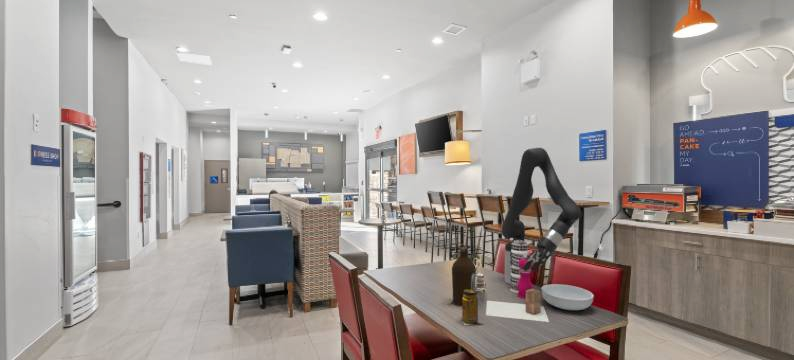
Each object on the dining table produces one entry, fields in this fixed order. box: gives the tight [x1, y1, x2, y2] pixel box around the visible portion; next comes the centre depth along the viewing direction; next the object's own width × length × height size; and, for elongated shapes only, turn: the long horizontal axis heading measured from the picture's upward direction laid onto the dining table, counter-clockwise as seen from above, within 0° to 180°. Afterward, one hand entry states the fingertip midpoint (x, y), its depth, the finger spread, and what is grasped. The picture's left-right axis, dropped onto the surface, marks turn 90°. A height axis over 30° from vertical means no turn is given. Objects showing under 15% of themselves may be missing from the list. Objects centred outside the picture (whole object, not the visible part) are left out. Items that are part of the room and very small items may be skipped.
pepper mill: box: [517, 255, 534, 300], centre depth 171 cm, size 7×7×20 cm
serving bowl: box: [540, 283, 595, 311], centre depth 160 cm, size 21×21×7 cm
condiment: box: [460, 289, 483, 326], centre depth 142 cm, size 7×8×12 cm
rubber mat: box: [485, 300, 550, 323], centre depth 153 cm, size 18×24×1 cm
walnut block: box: [525, 288, 542, 315], centre depth 151 cm, size 4×5×9 cm
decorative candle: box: [509, 239, 529, 294], centre depth 181 cm, size 9×9×25 cm
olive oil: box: [451, 246, 477, 307], centre depth 162 cm, size 11×11×25 cm
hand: (528, 270), depth 157 cm, fingers open, 8 cm apart
